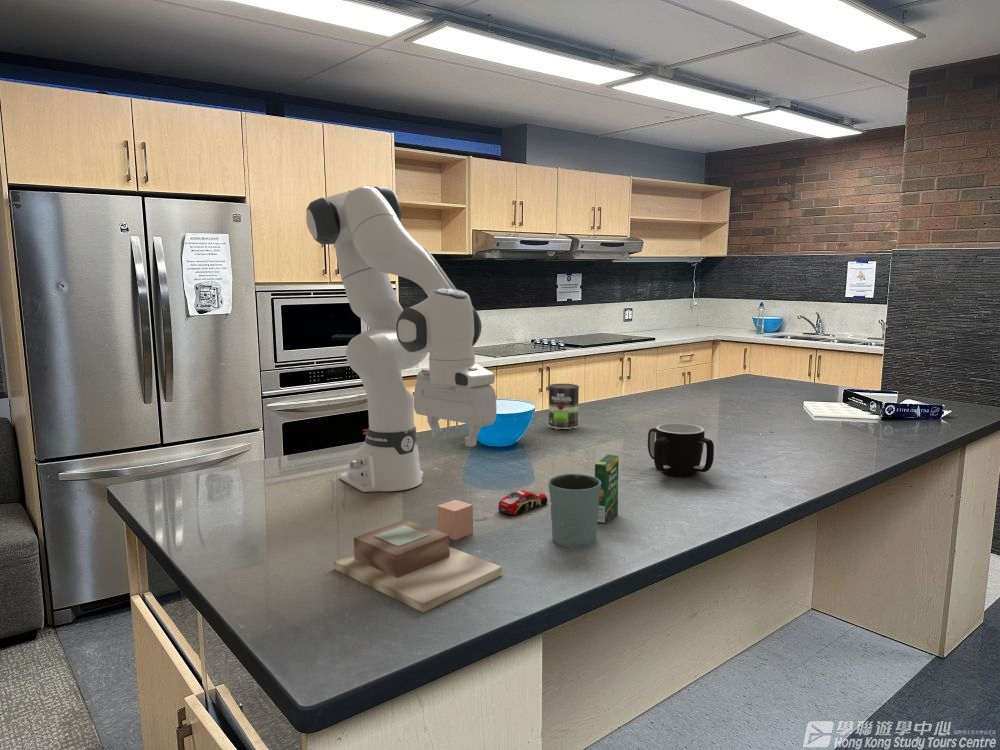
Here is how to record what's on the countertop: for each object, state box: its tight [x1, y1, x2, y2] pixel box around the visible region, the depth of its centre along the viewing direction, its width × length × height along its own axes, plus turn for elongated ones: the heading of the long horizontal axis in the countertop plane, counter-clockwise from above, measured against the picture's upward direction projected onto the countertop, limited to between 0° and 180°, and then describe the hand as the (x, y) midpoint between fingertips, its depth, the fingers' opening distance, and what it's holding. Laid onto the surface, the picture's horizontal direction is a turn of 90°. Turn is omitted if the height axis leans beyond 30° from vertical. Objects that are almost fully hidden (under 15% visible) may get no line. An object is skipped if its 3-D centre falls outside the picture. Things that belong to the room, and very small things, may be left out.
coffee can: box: [548, 383, 580, 430], centre depth 233 cm, size 10×10×14 cm
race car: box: [497, 489, 548, 515], centre depth 154 cm, size 13×5×4 cm, turn 135°
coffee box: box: [594, 454, 620, 526], centre depth 145 cm, size 8×3×13 cm, turn 151°
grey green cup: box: [548, 473, 601, 549], centre depth 134 cm, size 10×10×12 cm
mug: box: [647, 422, 715, 478], centre depth 179 cm, size 16×16×12 cm
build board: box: [333, 519, 503, 614], centre depth 121 cm, size 24×18×6 cm
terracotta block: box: [436, 499, 474, 541], centre depth 138 cm, size 5×5×6 cm
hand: (453, 442), depth 136 cm, fingers open, 8 cm apart
